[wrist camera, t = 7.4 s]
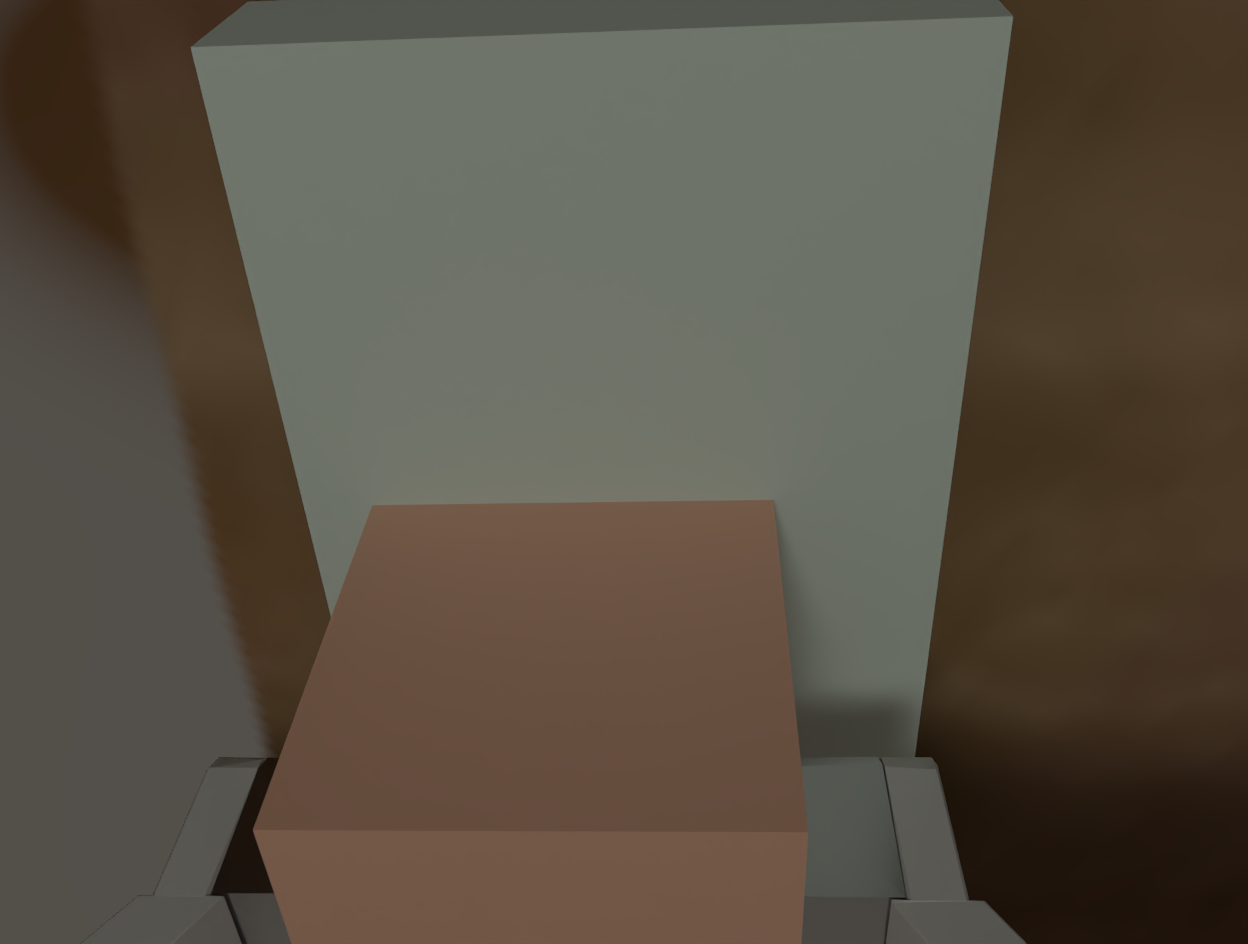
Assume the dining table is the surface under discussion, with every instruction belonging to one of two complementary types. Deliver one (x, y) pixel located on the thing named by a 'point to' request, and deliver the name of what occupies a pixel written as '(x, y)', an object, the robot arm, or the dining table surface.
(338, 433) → the green slab pink block
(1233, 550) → the dining table surface
